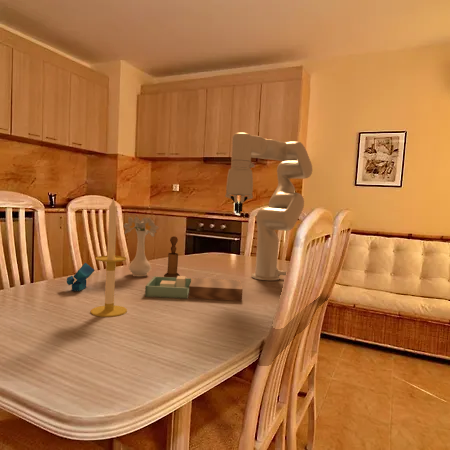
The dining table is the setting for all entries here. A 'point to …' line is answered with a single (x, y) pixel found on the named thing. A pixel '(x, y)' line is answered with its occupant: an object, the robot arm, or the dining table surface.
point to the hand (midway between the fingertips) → (238, 213)
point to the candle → (110, 270)
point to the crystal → (80, 277)
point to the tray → (166, 288)
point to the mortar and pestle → (172, 260)
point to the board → (215, 289)
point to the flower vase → (140, 244)
